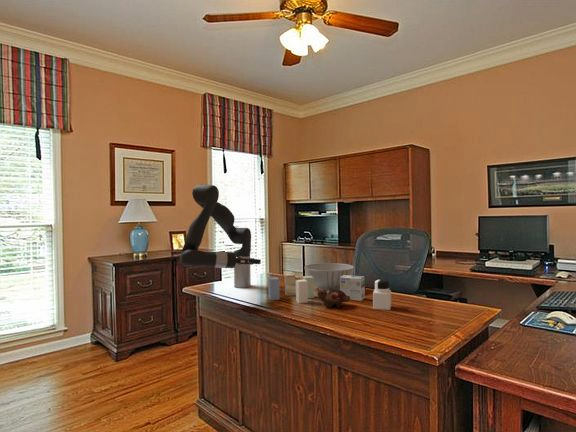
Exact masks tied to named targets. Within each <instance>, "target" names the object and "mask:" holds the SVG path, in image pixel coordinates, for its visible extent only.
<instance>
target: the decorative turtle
mask: <svg viewBox="0 0 576 432" xmlns="http://www.w3.org/2000/svg"><path fill="white" fill-rule="evenodd" d="M316 295H317V297H318V298H319V300H320V301H322V303H323V305H325V306H326V307H327V308H328V309H331V308H332V307H333V306H336V307H337V308H340V307H341V306H342V305H343V303H349V302H350V301H351V300H350V296H347V295H346V294H345V293H344V292H343V291H341V290H338V289H329V290H327V291H325V290H319V289H318V291H317V294H316Z"/></svg>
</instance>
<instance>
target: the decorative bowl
mask: <svg viewBox="0 0 576 432" xmlns="http://www.w3.org/2000/svg"><path fill="white" fill-rule="evenodd" d="M354 270H355V266H354V265H352V264H348V263H337V262H336V263H335V262H320V263H318V262H317V263H310V264H307V265H305V266H304V271H305V273H306V276H312V277H314V286H315V287H317V289H318V291H319V290H325V291H327V290H329V289H338V290H340V277H341V276H343V275H349V276H353V274H354Z"/></svg>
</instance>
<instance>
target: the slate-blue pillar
mask: <svg viewBox="0 0 576 432" xmlns="http://www.w3.org/2000/svg"><path fill="white" fill-rule="evenodd" d="M267 284H268V299H269V300H270V301H277V300H280V278H279V277H276V276H275V277H268V283H267Z"/></svg>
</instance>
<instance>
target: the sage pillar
mask: <svg viewBox="0 0 576 432" xmlns="http://www.w3.org/2000/svg"><path fill="white" fill-rule="evenodd" d="M304 279H305V280H307V281H308V299H312V298H313V299H314V298H315V285H314V277H312V276H307V275H304V276H302V280H304Z"/></svg>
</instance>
